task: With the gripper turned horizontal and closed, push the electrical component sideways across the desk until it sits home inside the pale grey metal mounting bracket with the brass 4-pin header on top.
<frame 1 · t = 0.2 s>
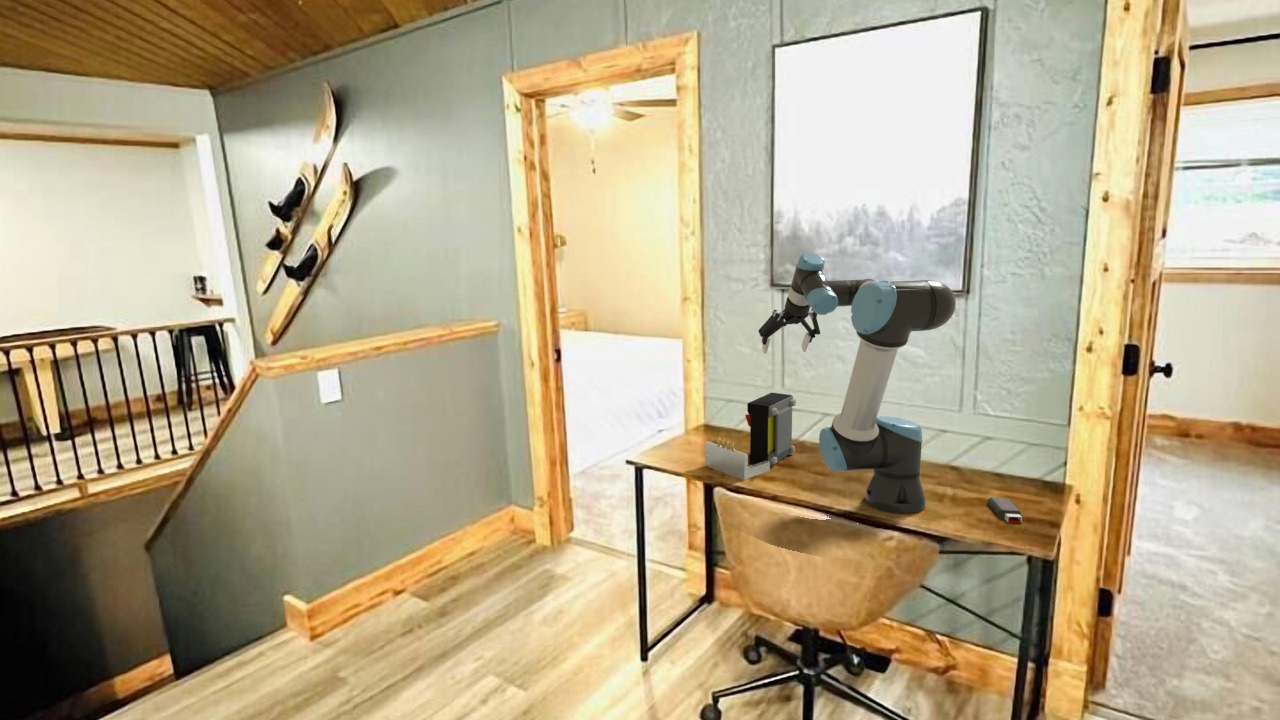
hand: (783, 349, 215), 35 cm above the table, tool tilted 35°, fingers open, 13 cm apart
mounting bracket: (739, 468, 207), on the table
usb drive: (1005, 515, 169), on the table
electrical component: (771, 458, 216), on the table
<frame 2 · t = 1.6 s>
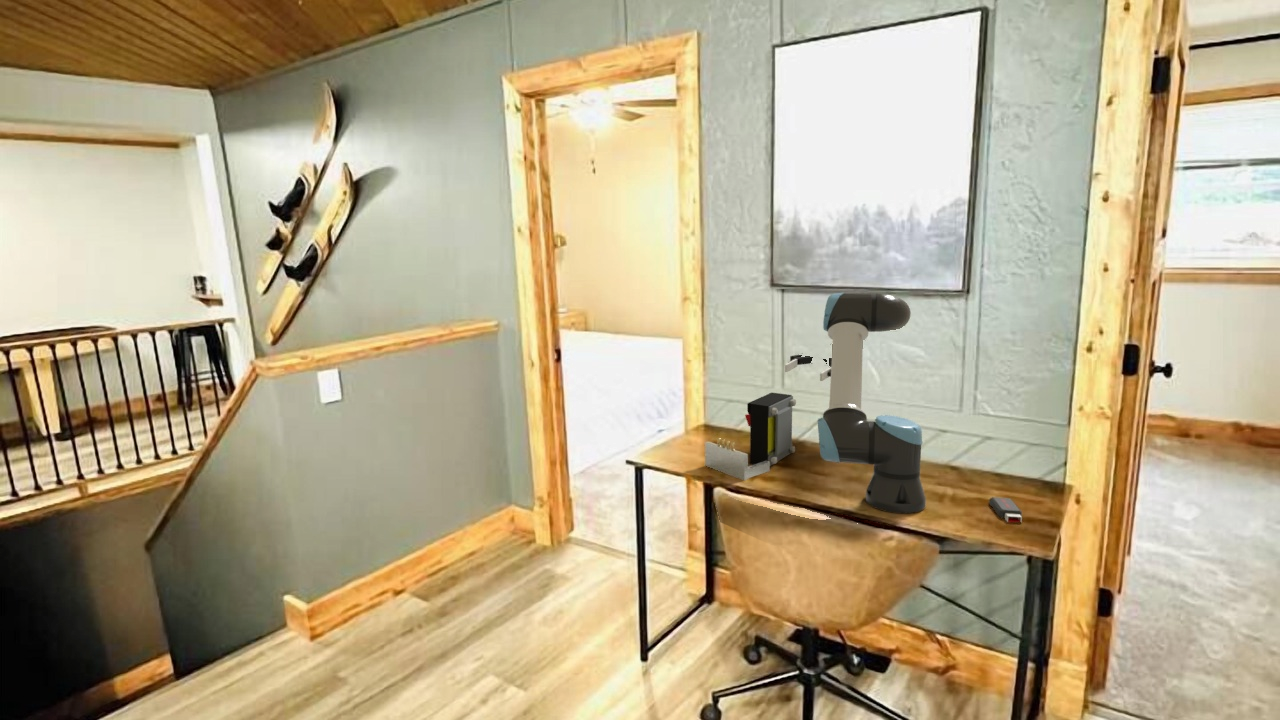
hand: (803, 372, 220), 27 cm above the table, tool horizontal, fingers open, 13 cm apart
nothing on the table moved.
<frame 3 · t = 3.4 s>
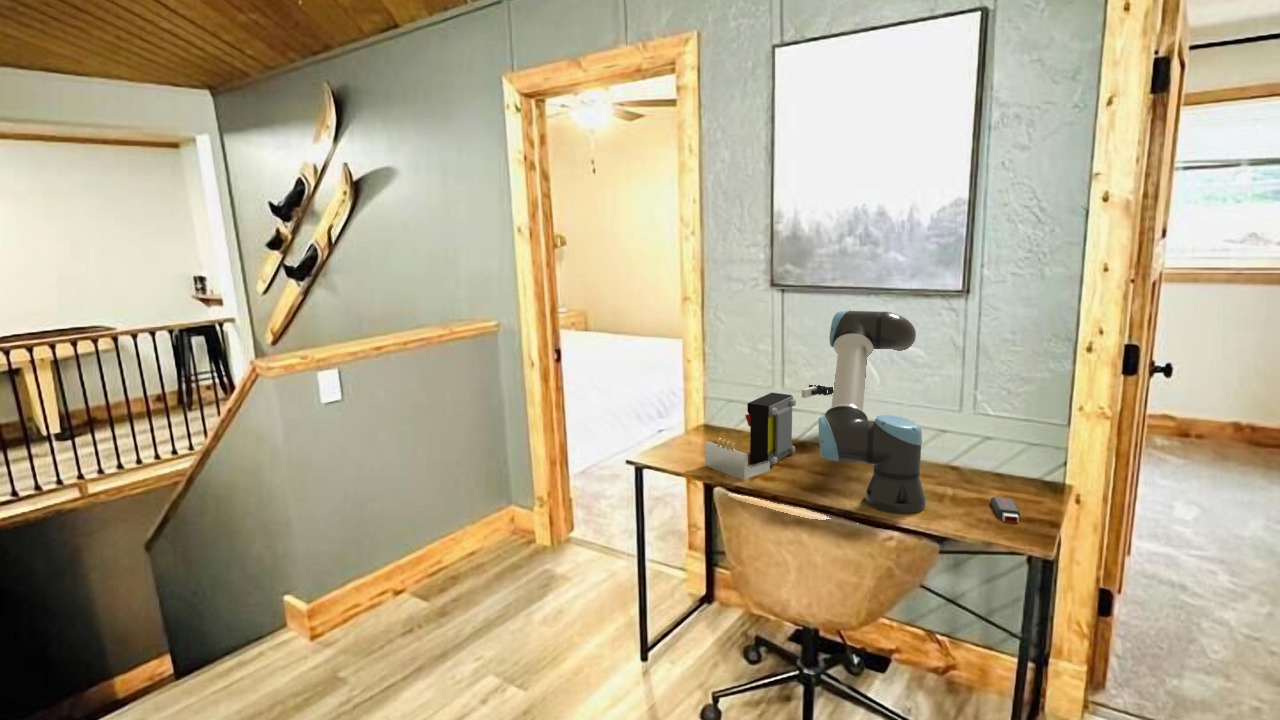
hand: (803, 393, 223), 19 cm above the table, tool horizontal, fingers closed
nothing on the table moved.
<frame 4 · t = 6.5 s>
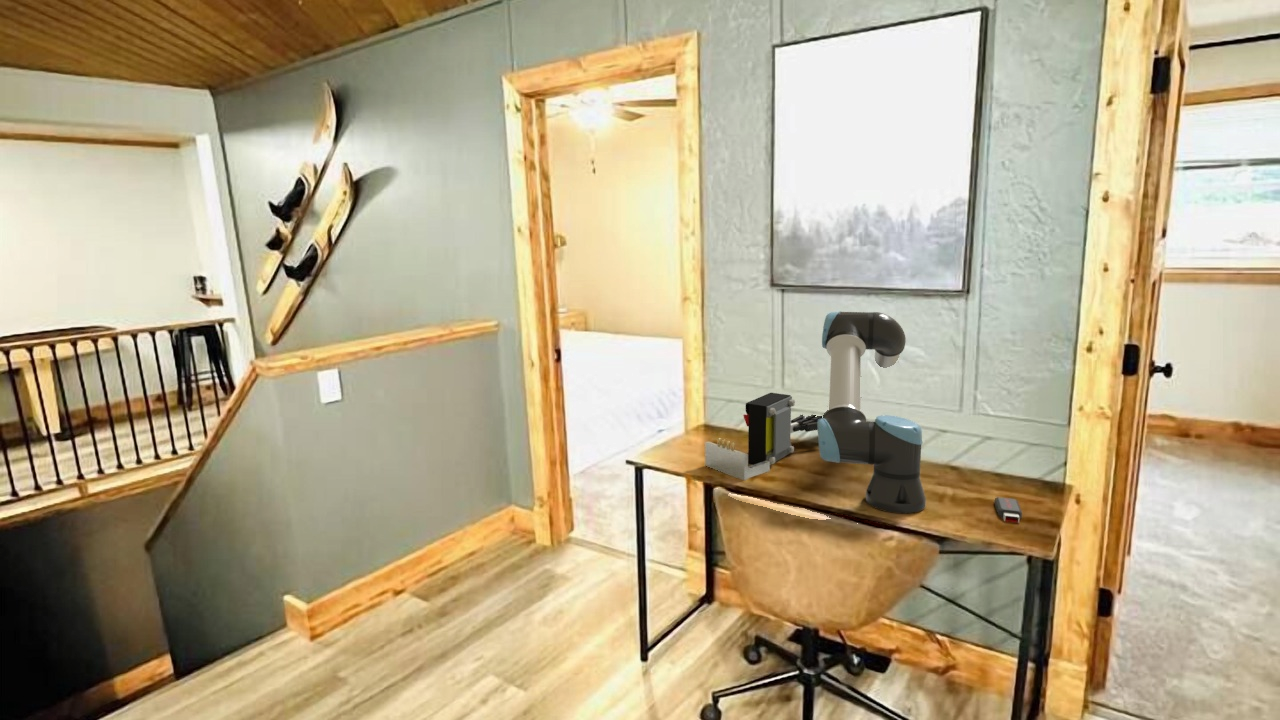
hand: (784, 430, 220), 8 cm above the table, tool horizontal, fingers closed
electrical component: (769, 458, 216), on the table, touching gripper
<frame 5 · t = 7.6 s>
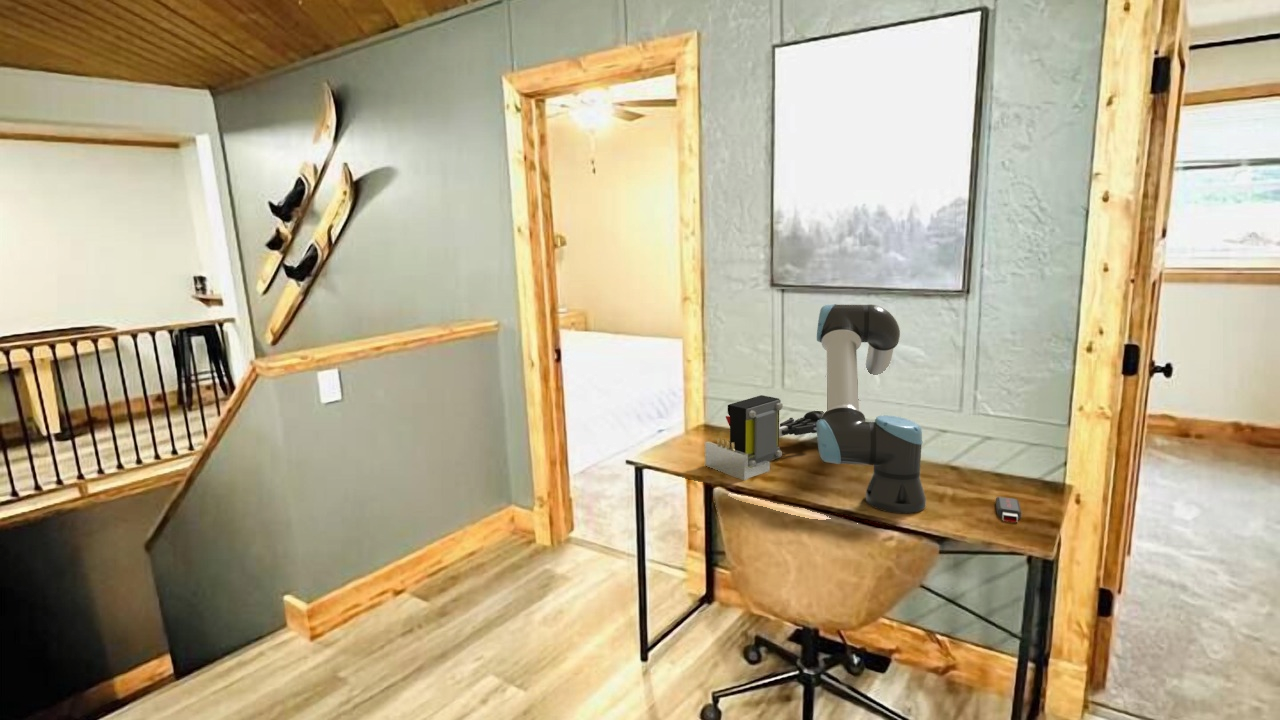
hand: (773, 433, 216), 8 cm above the table, tool horizontal, fingers closed
electrical component: (755, 462, 213), on the table, touching gripper
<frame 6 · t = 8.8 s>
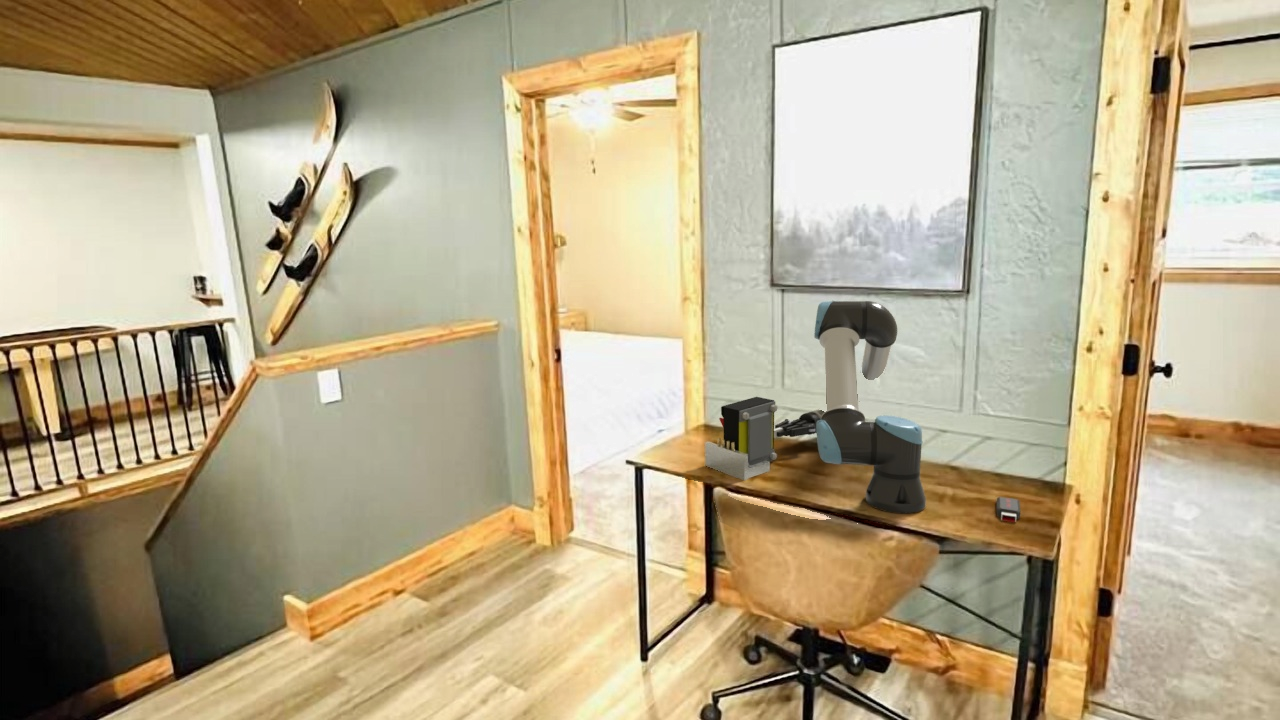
hand: (768, 435, 214), 8 cm above the table, tool horizontal, fingers closed
electrical component: (749, 464, 211), on the table, touching gripper
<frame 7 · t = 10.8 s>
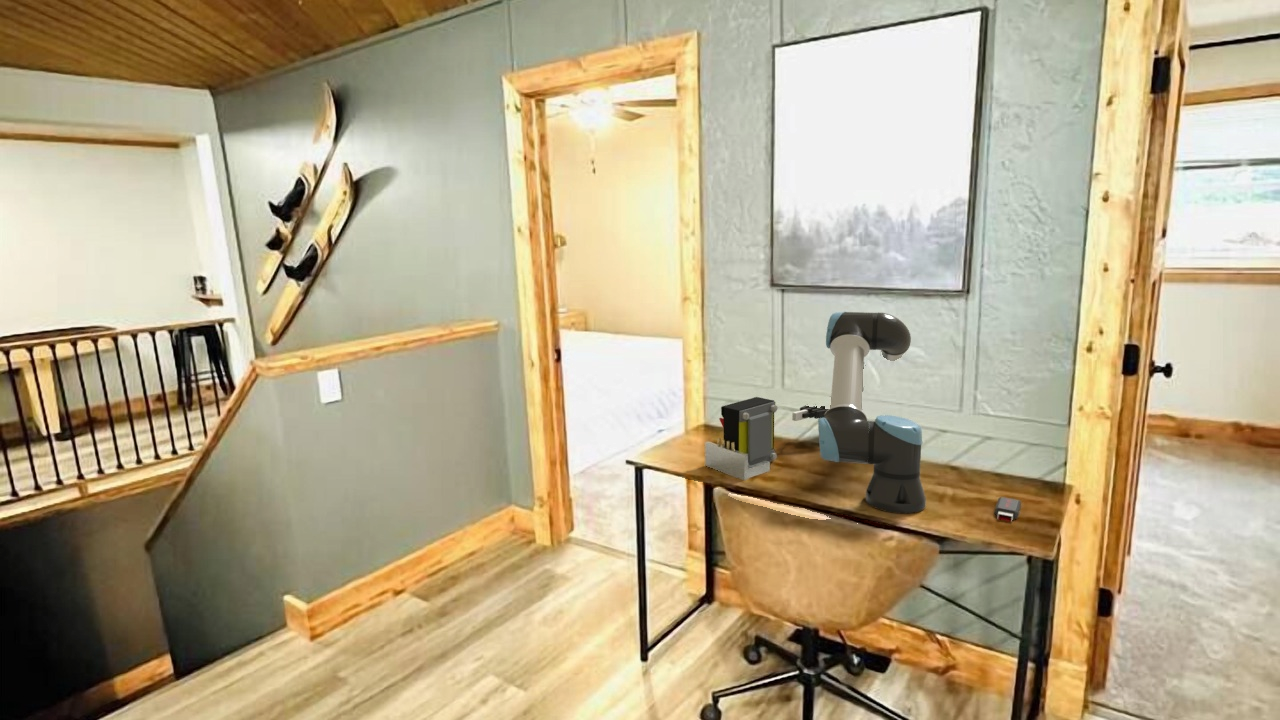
hand: (794, 416, 221), 12 cm above the table, tool horizontal, fingers closed
electrical component: (749, 464, 211), on the table
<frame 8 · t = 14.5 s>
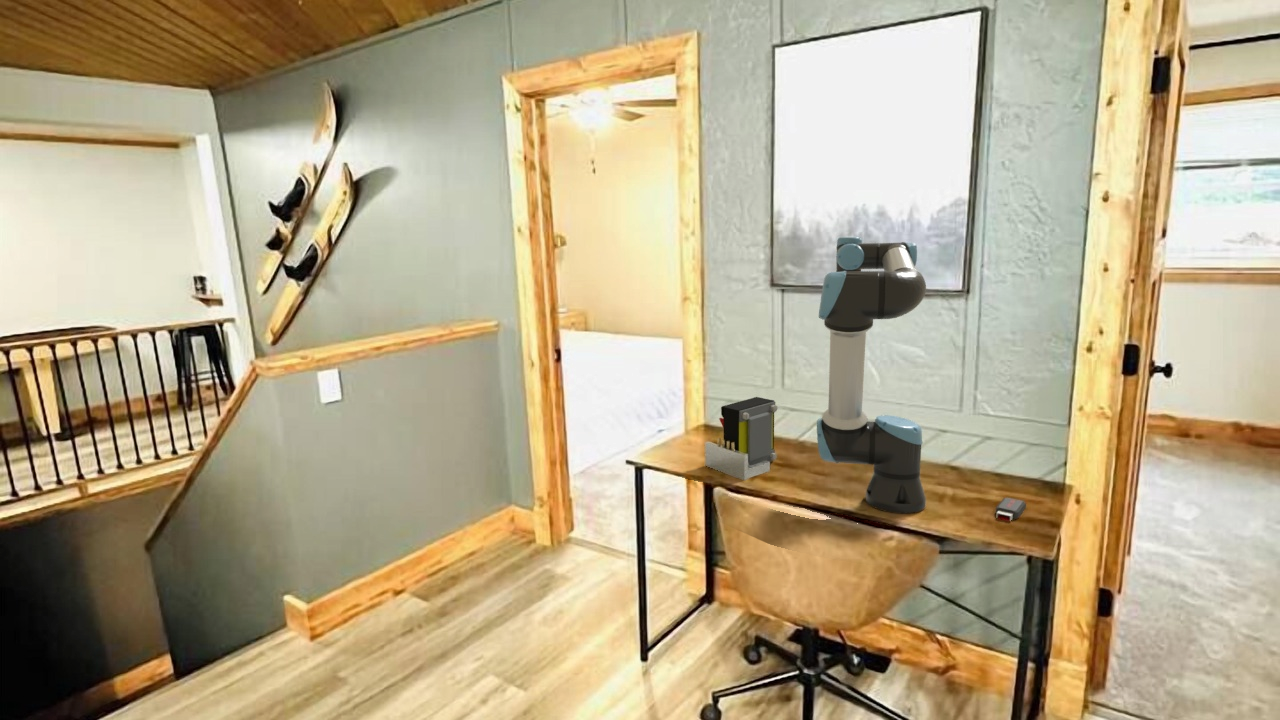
hand: (845, 360, 209), 32 cm above the table, tool pointing down, fingers closed
at the end: electrical component inside the target area (1.0 cm from its centre), on the table; electrical component tilted 0°; the gripper is holding nothing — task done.
